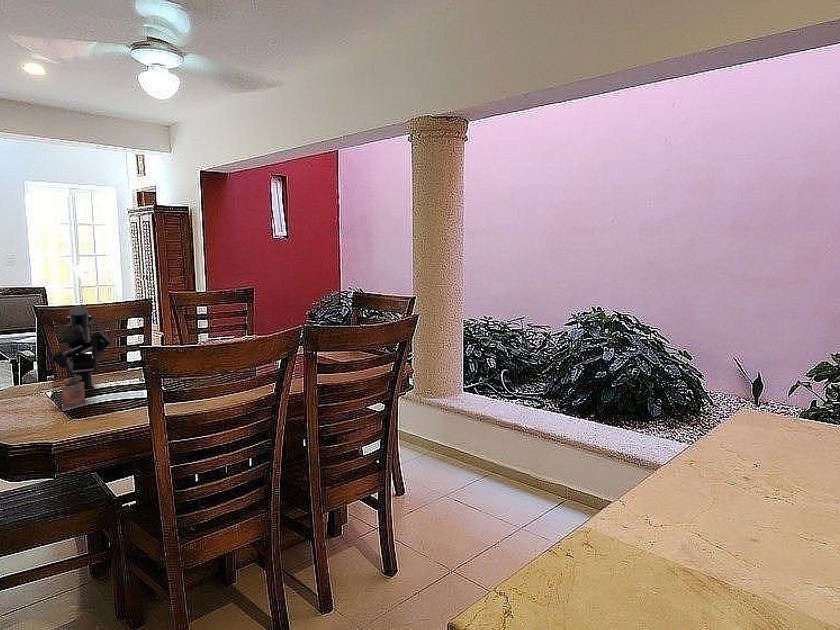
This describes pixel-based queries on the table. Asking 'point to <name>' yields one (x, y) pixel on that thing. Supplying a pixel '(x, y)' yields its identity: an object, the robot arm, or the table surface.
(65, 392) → the lighter
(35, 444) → the table surface
